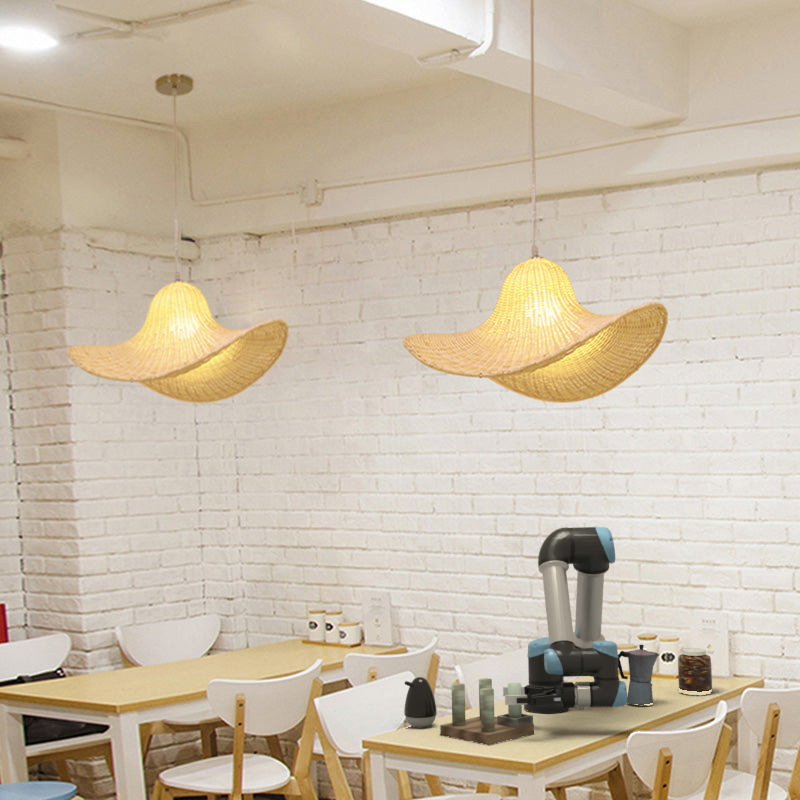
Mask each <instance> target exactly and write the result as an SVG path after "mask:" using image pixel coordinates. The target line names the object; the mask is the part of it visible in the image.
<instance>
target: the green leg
mask: <svg viewBox="0 0 800 800" xmlns="http://www.w3.org/2000/svg"><path fill="white" fill-rule="evenodd" d="M507 687H508V695H521V687H522V684H521V683H520V682H509V683H507ZM507 706H508V707H507V708H508V709H507V710H508V713H507V714H509V717H510V718H515V719H516V718H520V717H522V714H523V712H522V711H523V709H522V708H523V707H522V705H507Z"/></svg>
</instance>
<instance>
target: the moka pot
mask: <svg viewBox="0 0 800 800" xmlns="http://www.w3.org/2000/svg"><path fill="white" fill-rule="evenodd" d="M638 647H639V648H638V649H634V650H629V651H624V650H620V652H618V653H619V654H618V672H619V675H620V678H621V679H623V680H628V679H629V685H628V689H627V703H629V704H628V705H630V704H638V705H644V704H650V703H653V704H654V696H653V689H652V688H653V683H652V677H653V673H654V672H653V670H654V665H655V664H656V661H657V659H658V657H659V656H660V654H659V653H658V652H655V651H649V650H646V649H644V647H645V645H644V644H639V645H638ZM621 657H623V658H628V670H629V672H628V673H629V676H627V675H625V674H624V672H623V667H622V663H621ZM627 703H626V704H627Z"/></svg>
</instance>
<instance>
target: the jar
mask: <svg viewBox="0 0 800 800" xmlns="http://www.w3.org/2000/svg"><path fill="white" fill-rule="evenodd" d="M681 650H682V652H681V653H682V654H680V655H678V657H677V659H678V660H677V668H678V669H677V670H678V671H677V673H678V674H677V675H678V676H677V677H678V689H679V688H680V689H682V690H687V691H697V692H702V691H709V690H711V689H712V690H713V674H712V673H713V672H712V671H713V670H712V659H711V656H710V655H708V654H707V651H706V649H704V648H694V647H690V648H683V649H681Z"/></svg>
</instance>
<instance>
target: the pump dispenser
mask: <svg viewBox="0 0 800 800" xmlns="http://www.w3.org/2000/svg"><path fill="white" fill-rule="evenodd" d="M404 685H405V686H407V687H408V690H407V693H406V697H405V701H404V702H405V703H404V710H403V711H404V712H403V713H404V716H405V720H406V722H407V723H408V725H410V726H411V727H413V726H415V727H414V728H417V727H418V729H420V728H421V729H423V727H424V728H428V727H430V726H431V725H432V724H434V722H435V720H436V716H437V715H438V713H437V705H436V704H437V703H436V699H435V696H434V692H433V689H432V687H431V685H430V682H429V681H428V680H427V679H426V678H425V677H422V676H417V677H416V678H414V679H412V681H407V680H405V681H404Z"/></svg>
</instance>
